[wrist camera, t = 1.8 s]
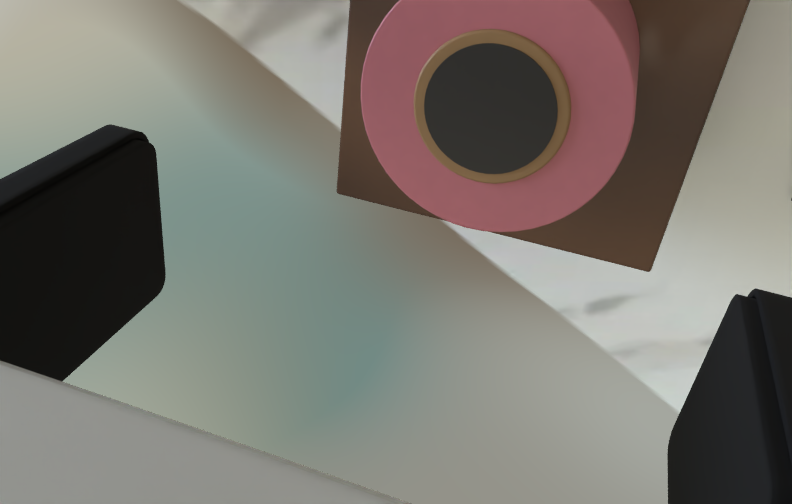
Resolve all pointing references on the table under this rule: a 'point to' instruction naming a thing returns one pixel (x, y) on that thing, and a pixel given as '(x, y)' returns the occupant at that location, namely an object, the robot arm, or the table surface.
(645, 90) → the desk shelf
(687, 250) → the table surface
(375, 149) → the tape roll
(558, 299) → the table surface
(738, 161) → the table surface
